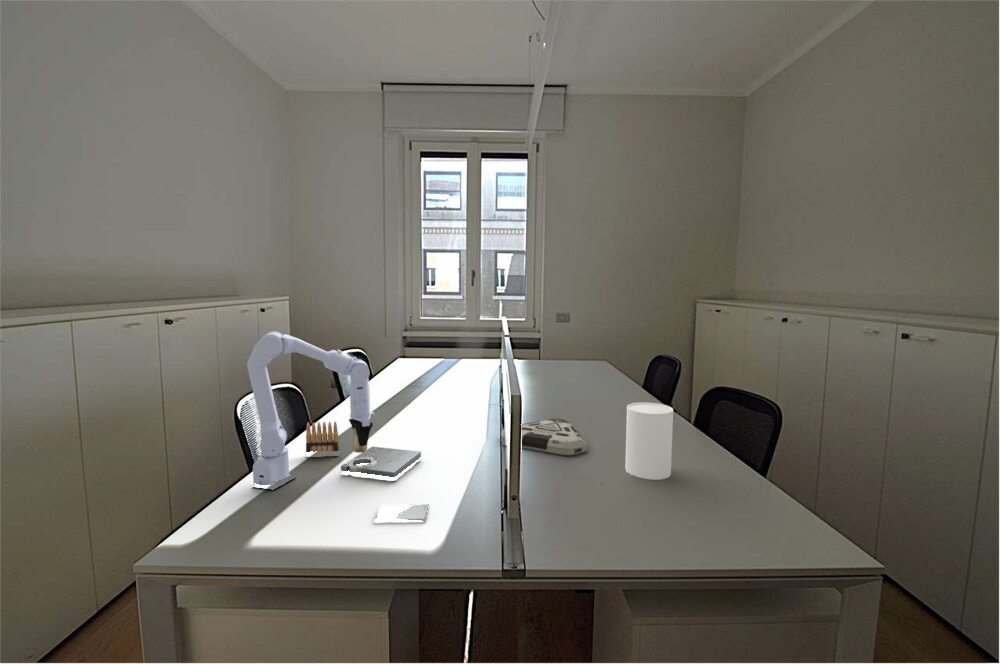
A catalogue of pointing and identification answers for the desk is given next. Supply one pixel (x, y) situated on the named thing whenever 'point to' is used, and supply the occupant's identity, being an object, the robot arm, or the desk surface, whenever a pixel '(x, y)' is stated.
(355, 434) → the cylinder
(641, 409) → the canister
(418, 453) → the grey plate with hole
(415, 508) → the hard drive
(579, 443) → the device
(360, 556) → the desk surface
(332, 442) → the ammunition clip
